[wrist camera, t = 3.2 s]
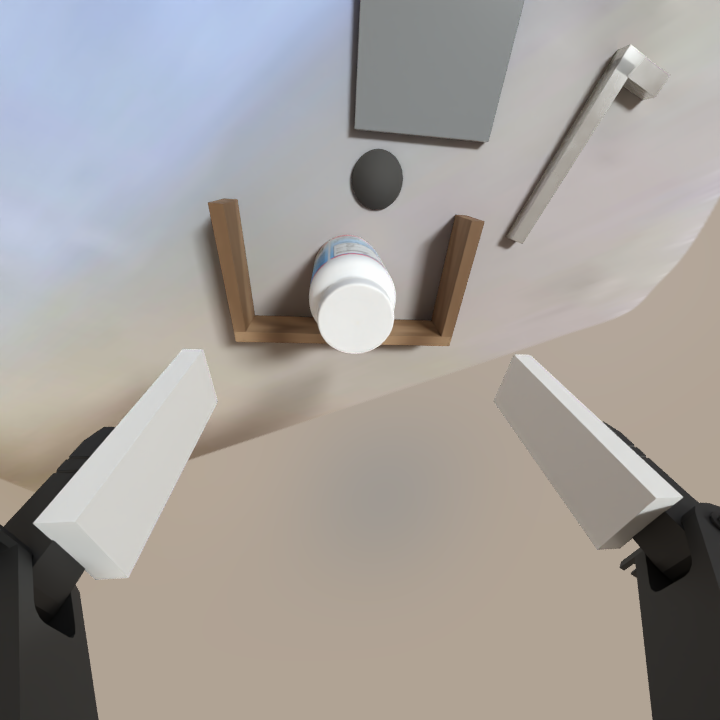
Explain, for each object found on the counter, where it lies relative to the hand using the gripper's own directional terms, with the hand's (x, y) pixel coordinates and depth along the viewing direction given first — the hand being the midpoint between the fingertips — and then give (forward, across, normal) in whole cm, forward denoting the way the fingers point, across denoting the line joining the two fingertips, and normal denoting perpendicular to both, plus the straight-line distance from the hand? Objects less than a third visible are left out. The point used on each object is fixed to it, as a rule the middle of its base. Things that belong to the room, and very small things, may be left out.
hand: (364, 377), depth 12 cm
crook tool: (+17, +18, +9) cm, 26 cm away
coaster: (+16, +5, +15) cm, 23 cm away
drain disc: (+16, +2, +7) cm, 18 cm away
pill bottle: (+17, 0, 0) cm, 17 cm away
